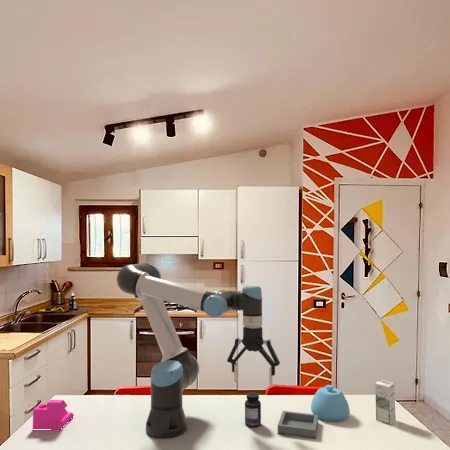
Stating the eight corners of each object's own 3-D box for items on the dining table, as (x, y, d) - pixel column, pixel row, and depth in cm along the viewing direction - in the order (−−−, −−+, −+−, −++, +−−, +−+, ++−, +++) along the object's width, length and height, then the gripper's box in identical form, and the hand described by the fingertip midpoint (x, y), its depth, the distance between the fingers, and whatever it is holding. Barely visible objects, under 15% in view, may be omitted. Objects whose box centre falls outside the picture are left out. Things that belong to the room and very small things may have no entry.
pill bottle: (251, 419, 155) (251, 390, 156) (264, 423, 151) (263, 394, 152) (241, 424, 150) (241, 395, 151) (254, 429, 147) (254, 398, 147)
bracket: (59, 431, 145) (60, 402, 146) (32, 430, 146) (33, 402, 146) (73, 417, 157) (74, 390, 158) (48, 416, 158) (49, 390, 158)
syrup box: (396, 420, 154) (395, 382, 155) (390, 425, 150) (389, 386, 151) (381, 415, 158) (380, 379, 159) (375, 420, 154) (374, 382, 155)
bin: (277, 433, 143) (277, 425, 143) (283, 418, 156) (282, 410, 156) (315, 438, 139) (315, 430, 139) (317, 422, 152) (317, 414, 152)
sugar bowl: (335, 427, 149) (335, 395, 149) (303, 414, 160) (303, 385, 161) (356, 415, 159) (356, 386, 159) (325, 404, 170) (324, 377, 170)
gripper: (219, 326, 153) (219, 382, 152) (283, 329, 146) (284, 388, 145) (224, 323, 160) (225, 376, 159) (286, 325, 153) (287, 381, 152)
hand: (253, 382), depth 152 cm, fingers open, 13 cm apart
